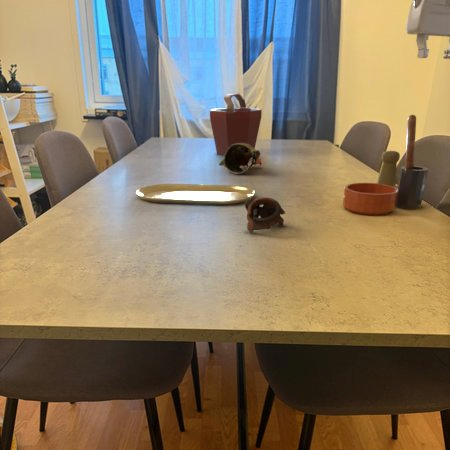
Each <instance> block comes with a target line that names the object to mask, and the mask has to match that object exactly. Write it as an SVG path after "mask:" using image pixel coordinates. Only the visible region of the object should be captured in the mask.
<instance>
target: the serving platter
mask: <svg viewBox="0 0 450 450" xmlns="http://www.w3.org/2000/svg"><path fill="white" fill-rule="evenodd" d="M255 193H256V192H255V190H254V189H252V188H249V187H247V186H240V185H232V184H197V183H196V184H193V183H161V184H153V185H147V186H143V187H140V188H139V189H137V190H136V192H135V194H136V196H137V197H138V198H140V199H141V200H143V201H147V202H150V203H161V204H185V205H186V204H190V205H221V206H224V205H235V204H241V203H245V202H246V201H247V200H248V199H253V197H254V196H255Z"/></svg>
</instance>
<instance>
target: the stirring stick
mask: <svg viewBox="0 0 450 450" xmlns="http://www.w3.org/2000/svg"><path fill="white" fill-rule="evenodd" d="M406 128H407V129H406V147H405V148H406V149H405V166H406V167H405V168H406V169H412V170H414V166H415V150H416V134H417V133H416V131H417V116H416V115H415V114H411V115H409V116H408V117H407V123H406Z"/></svg>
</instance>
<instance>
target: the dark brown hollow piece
mask: <svg viewBox="0 0 450 450" xmlns="http://www.w3.org/2000/svg"><path fill="white" fill-rule="evenodd" d="M244 207H245V210H246V219H247V225H246V226H247V227H246V228H247V231H248V232H249V234H253V232H254V231H261V230H269V229H270V228H273V227H275V226H276V225H277V224H278V225H280V227H284V222H285V220H284V218H283V217H282V216H281V215H285V214H286V211H285V210H284V209H283V208H282V206H281V204H280V203H279V201H278V200H276V199H274V198H272V197H267V196H265V197H259V198H256V199H254V198H251V199H248V200H247V201H245V202H244Z"/></svg>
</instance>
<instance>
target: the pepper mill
mask: <svg viewBox="0 0 450 450" xmlns="http://www.w3.org/2000/svg"><path fill="white" fill-rule="evenodd" d="M400 158H401V156H400V153H399V151H396V150H385V151H383V153H382V155H381V161H382V165H381V167H380V171H379V174H378V178H377V181H376V183H379V184H385V185H390V186H393V187H396V188H397V167H398V165H397V164H398V162H400V161H399V160H400Z"/></svg>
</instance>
